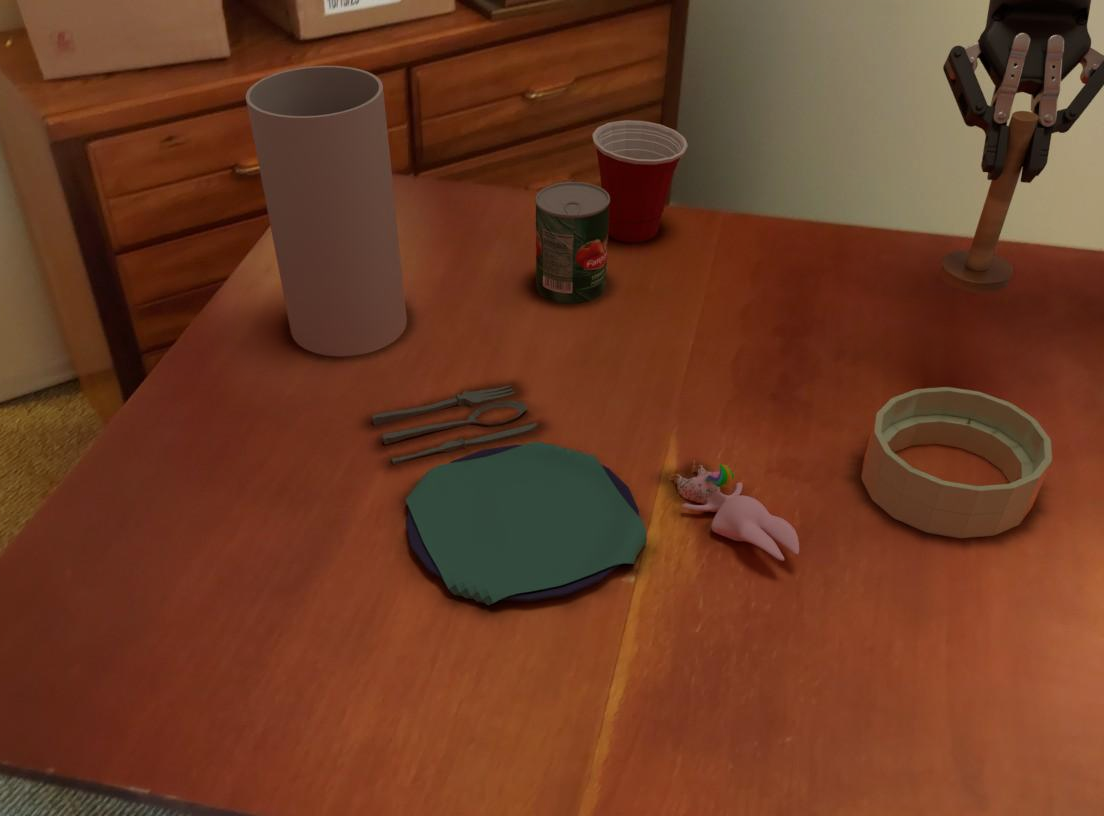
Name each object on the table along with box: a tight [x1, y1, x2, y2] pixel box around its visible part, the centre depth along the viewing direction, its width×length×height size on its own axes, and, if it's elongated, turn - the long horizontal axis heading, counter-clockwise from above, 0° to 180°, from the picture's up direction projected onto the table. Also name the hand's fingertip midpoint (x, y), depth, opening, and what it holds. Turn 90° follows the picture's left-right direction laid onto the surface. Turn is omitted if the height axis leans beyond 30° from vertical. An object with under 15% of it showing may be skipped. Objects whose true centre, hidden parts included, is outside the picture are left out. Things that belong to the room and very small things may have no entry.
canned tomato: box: [534, 181, 610, 305], centre depth 116 cm, size 8×8×11 cm
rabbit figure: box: [668, 459, 800, 562], centre depth 89 cm, size 6×6×15 cm
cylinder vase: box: [245, 65, 408, 357], centre depth 106 cm, size 12×12×25 cm
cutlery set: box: [371, 384, 647, 606], centre depth 94 cm, size 20×30×2 cm, turn 21°
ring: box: [860, 386, 1053, 539], centre depth 92 cm, size 14×14×6 cm
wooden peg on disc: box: [938, 110, 1039, 294], centre depth 90 cm, size 6×6×14 cm
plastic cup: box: [592, 119, 689, 243], centre depth 124 cm, size 11×11×12 cm
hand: (1012, 177), depth 86 cm, fingers closed on wooden peg on disc
